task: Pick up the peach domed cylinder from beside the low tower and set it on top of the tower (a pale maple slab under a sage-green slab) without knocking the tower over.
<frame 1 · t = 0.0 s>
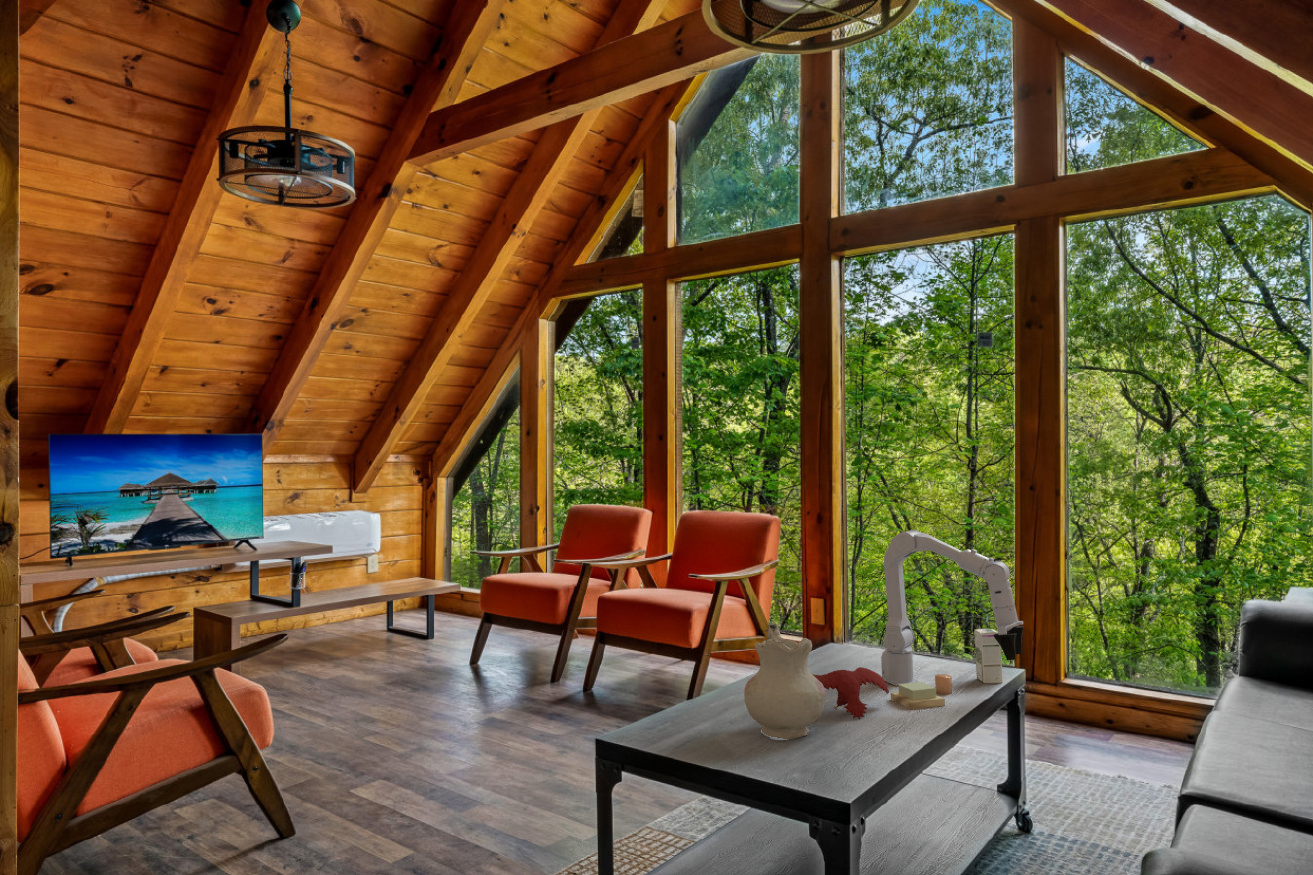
hand: (1014, 656, 233), 11 cm above the table, fingers open, 7 cm apart
syrup box: (989, 681, 249), on the table
peach domed cylinder: (943, 692, 238), on the table
sage slab: (917, 695, 229), point 2 cm above the table, touching maple slab
decorative bird sculpture: (846, 713, 222), on the table
maple slab: (917, 705, 229), on the table, touching sage slab
ceramic pitcher: (783, 731, 208), on the table
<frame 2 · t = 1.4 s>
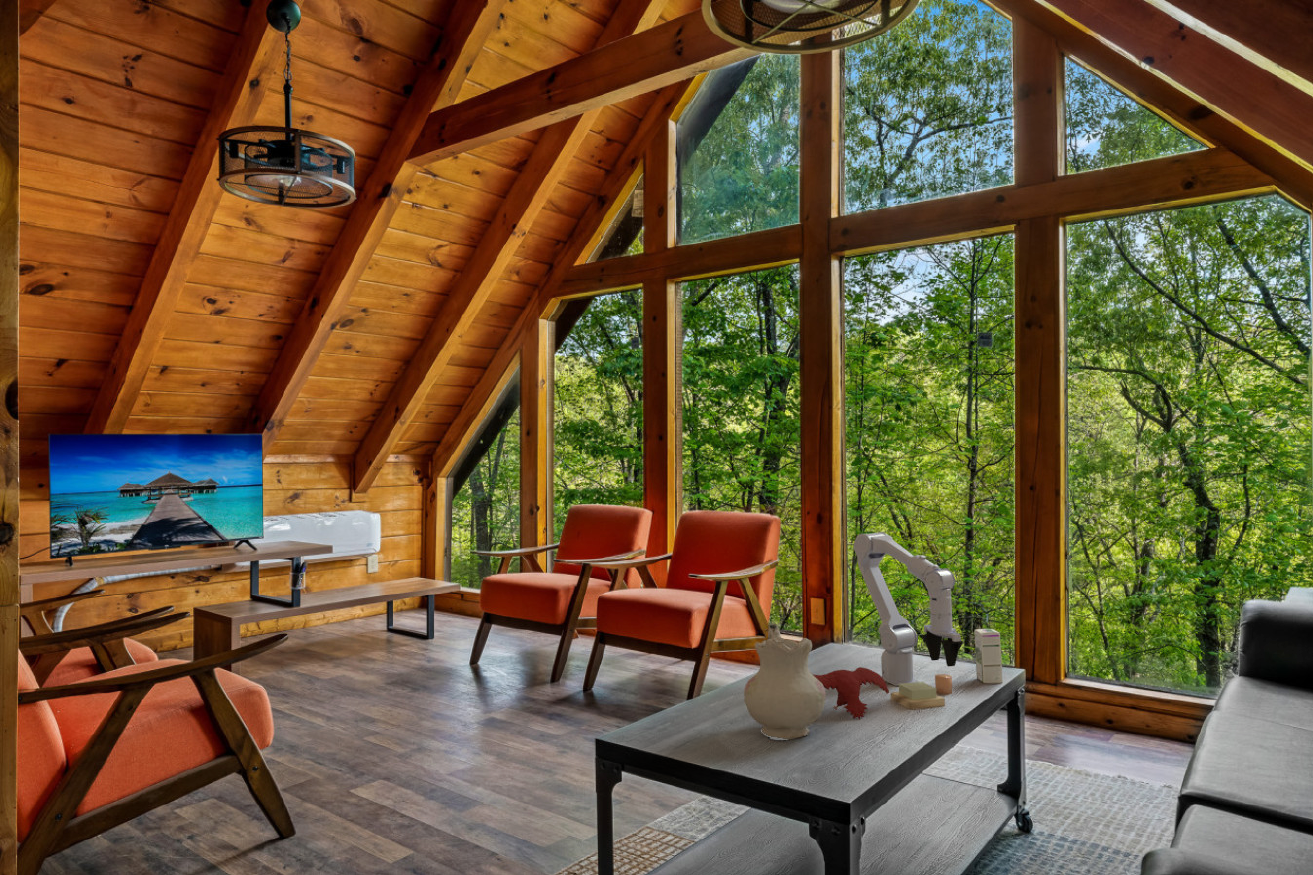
hand: (942, 662, 238), 8 cm above the table, fingers open, 7 cm apart
nothing on the table moved.
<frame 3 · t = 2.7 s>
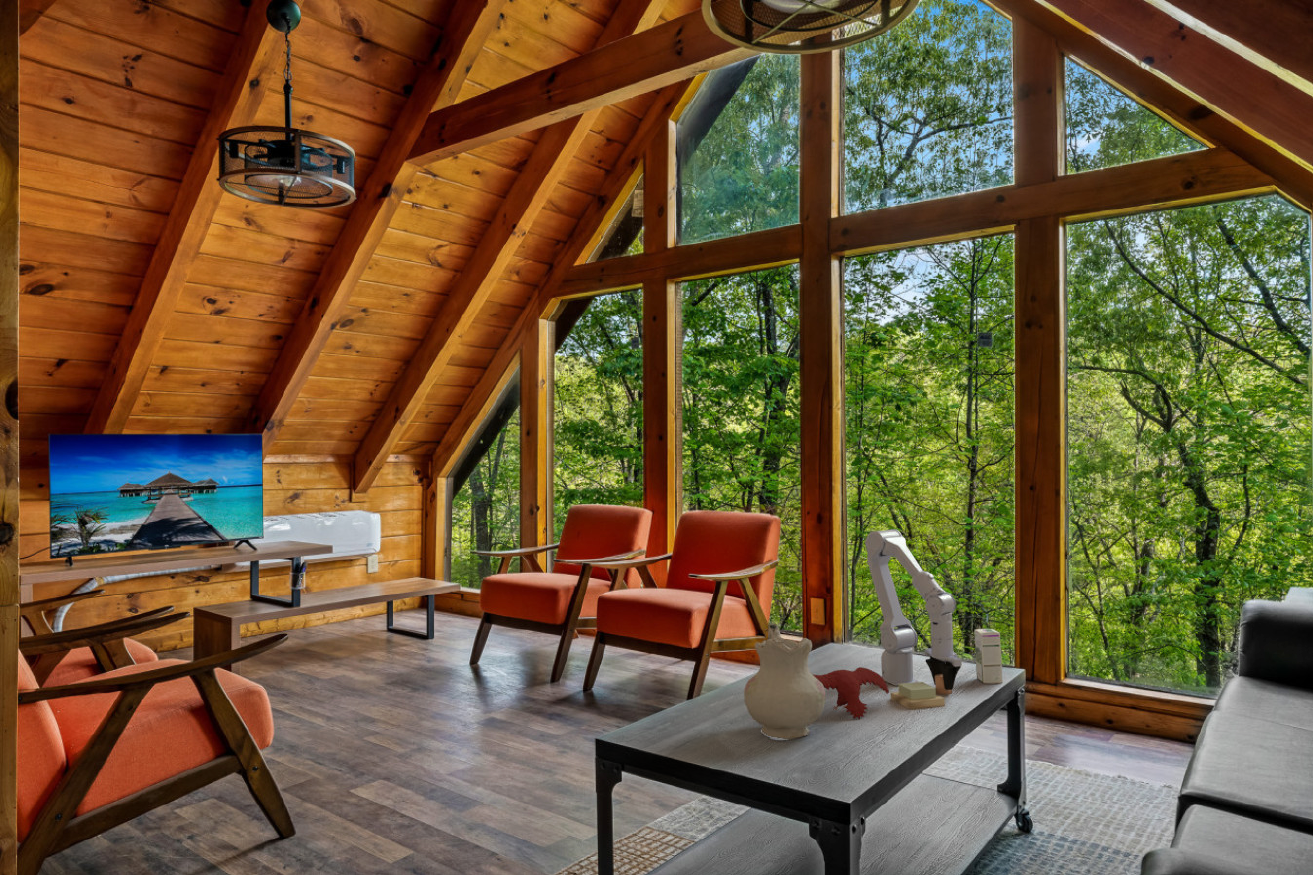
hand: (943, 687, 238), 1 cm above the table, fingers closed on peach domed cylinder, 4 cm apart
peach domed cylinder: (943, 692, 238), on the table, touching gripper
everything else where it was.
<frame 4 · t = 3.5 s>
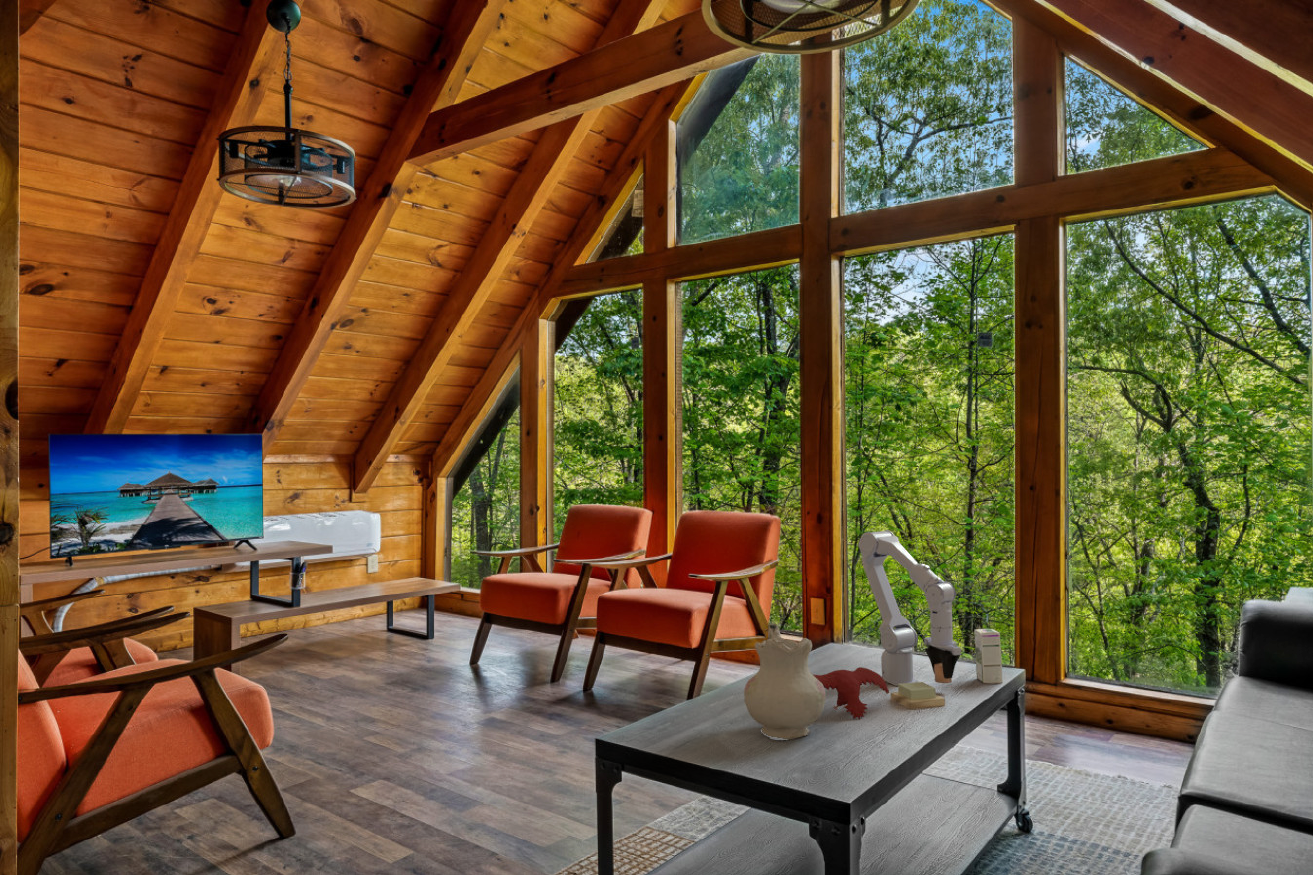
hand: (943, 675, 238), 4 cm above the table, fingers closed on peach domed cylinder, 4 cm apart
peach domed cylinder: (943, 681, 238), point 3 cm above the table, touching gripper
everything else where it was.
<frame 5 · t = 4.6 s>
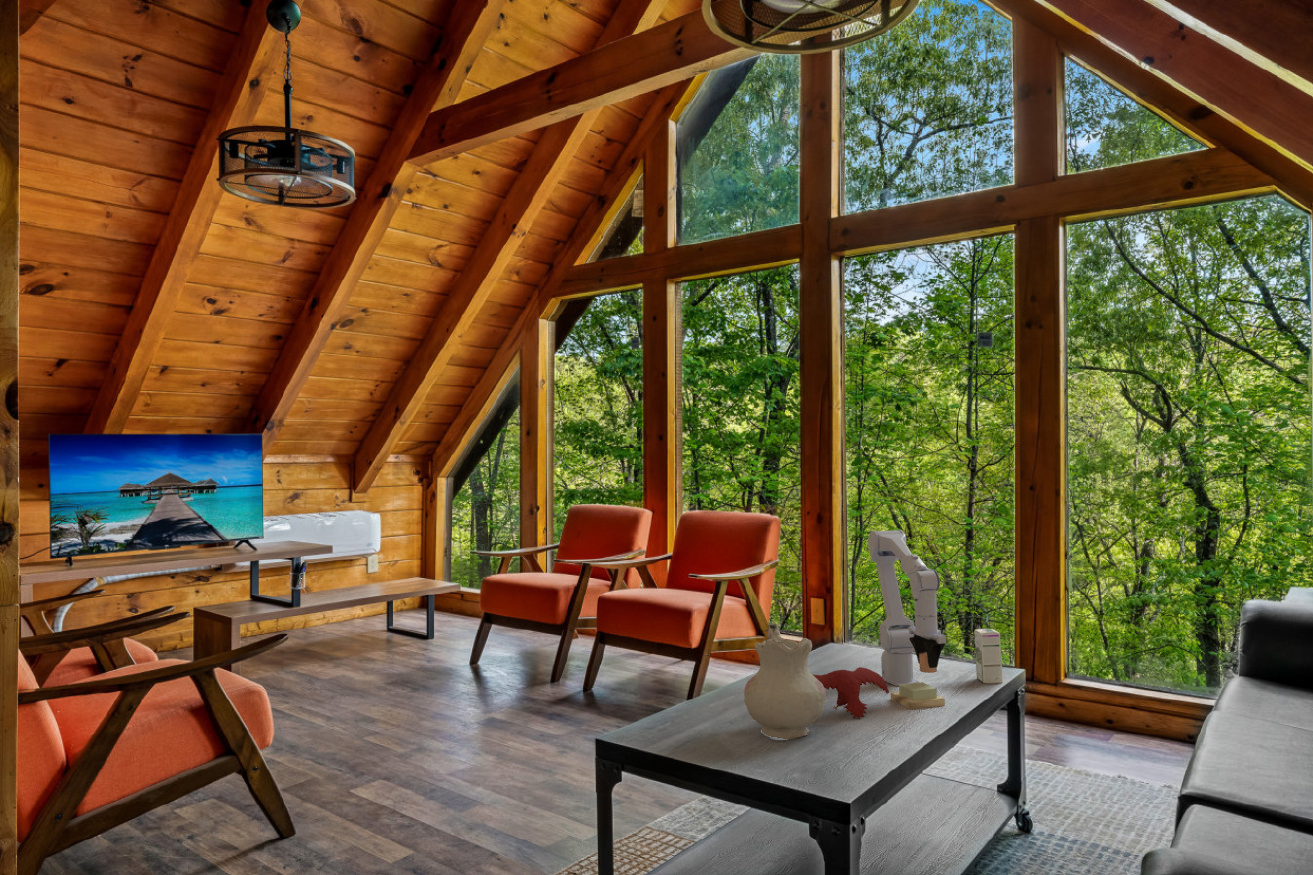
hand: (927, 665, 233), 9 cm above the table, fingers closed on peach domed cylinder, 4 cm apart
peach domed cylinder: (928, 670, 233), point 7 cm above the table, touching gripper
everything else where it was.
when the fingers open (7 cm above the table, at t = 5.9 s): peach domed cylinder drops 2 cm, point 4 cm above the table.
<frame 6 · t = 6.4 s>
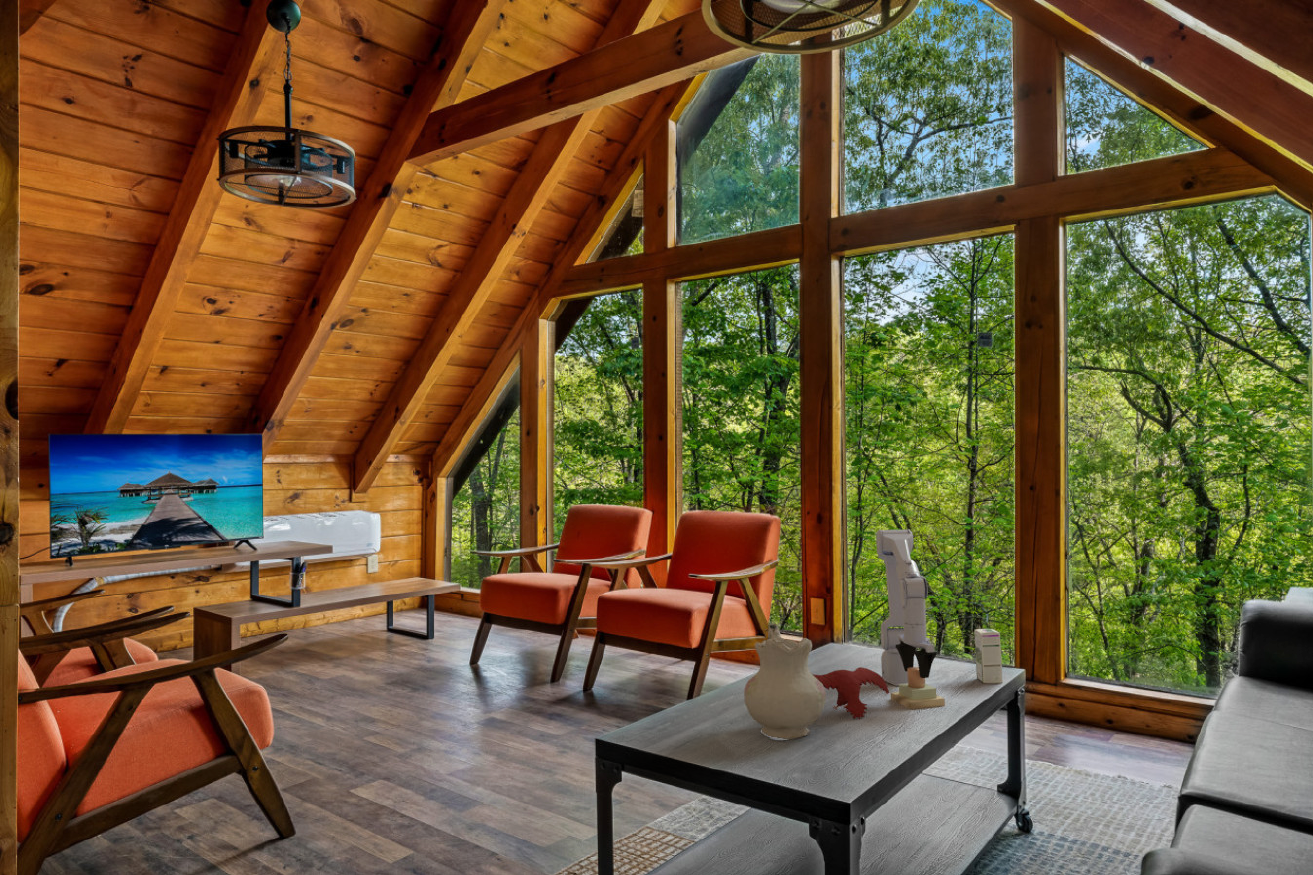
hand: (916, 674, 229), 7 cm above the table, fingers open, 7 cm apart
peach domed cylinder: (916, 685, 229), point 4 cm above the table
everything else where it was.
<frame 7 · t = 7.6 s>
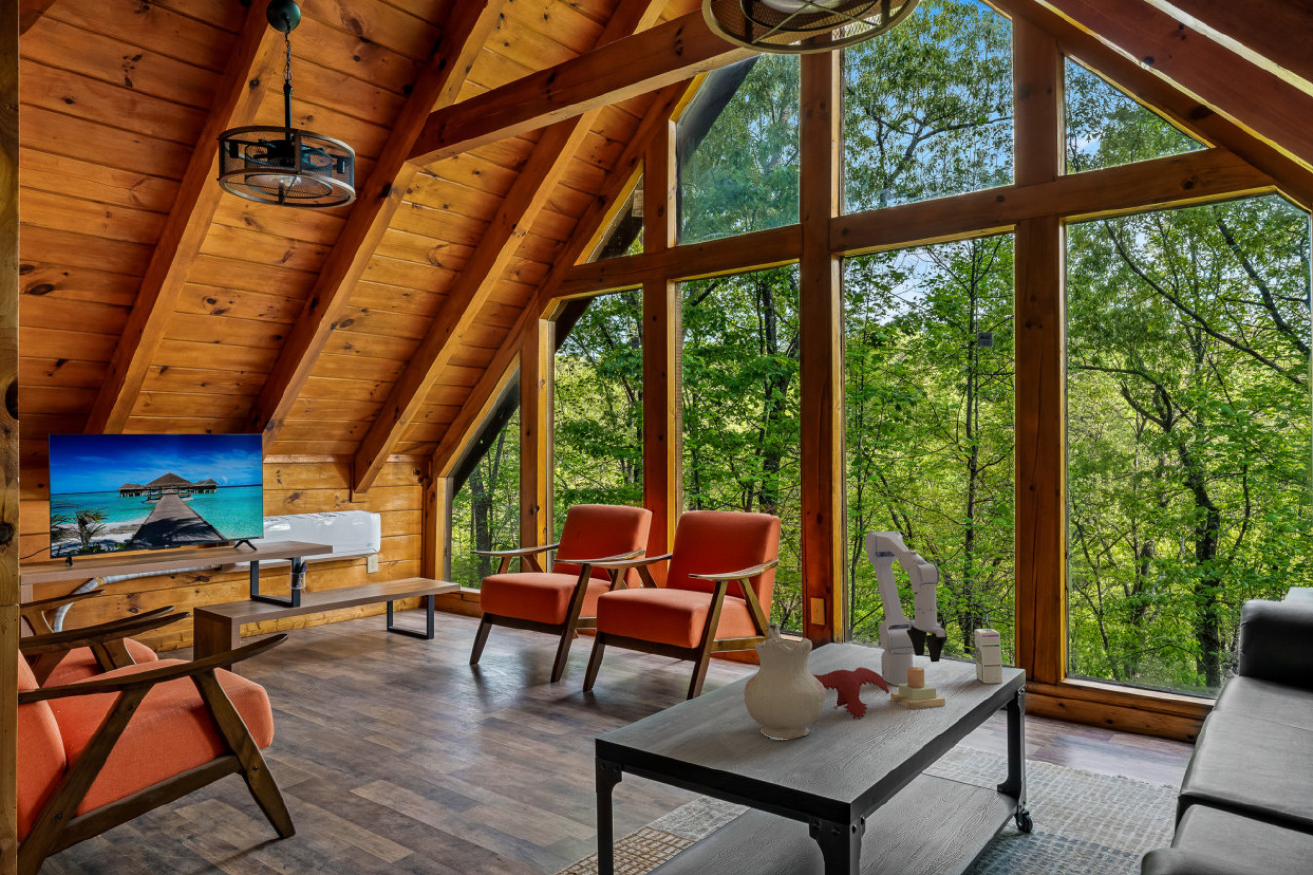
hand: (927, 658, 235), 10 cm above the table, fingers open, 7 cm apart
sage slab: (917, 695, 229), point 2 cm above the table
maple slab: (917, 704, 229), on the table
everything else where it was.
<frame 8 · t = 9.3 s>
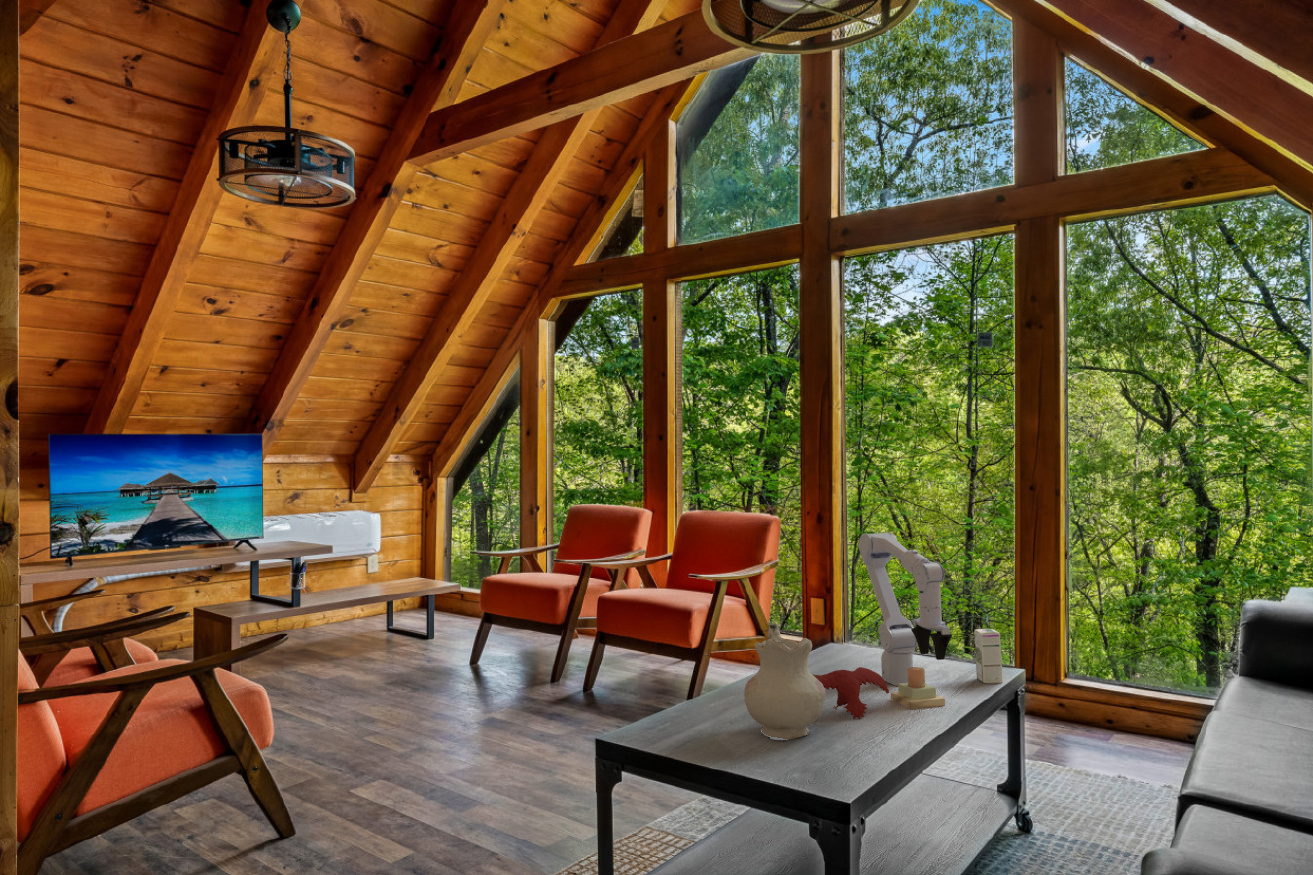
hand: (932, 656, 236), 10 cm above the table, fingers open, 7 cm apart
peach domed cylinder: (916, 685, 229), point 4 cm above the table, touching sage slab
sage slab: (917, 695, 230), point 2 cm above the table, touching maple slab, peach domed cylinder
maple slab: (917, 704, 229), on the table, touching sage slab
everything else where it was.
at the end: peach domed cylinder 0.3 cm off-centre on the sage slab, point 2.5 cm above the sage slab's base; sage slab 0.2 cm off-centre on the maple slab, point 2.5 cm above the maple slab's base; peach domed cylinder tilted 0° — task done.
